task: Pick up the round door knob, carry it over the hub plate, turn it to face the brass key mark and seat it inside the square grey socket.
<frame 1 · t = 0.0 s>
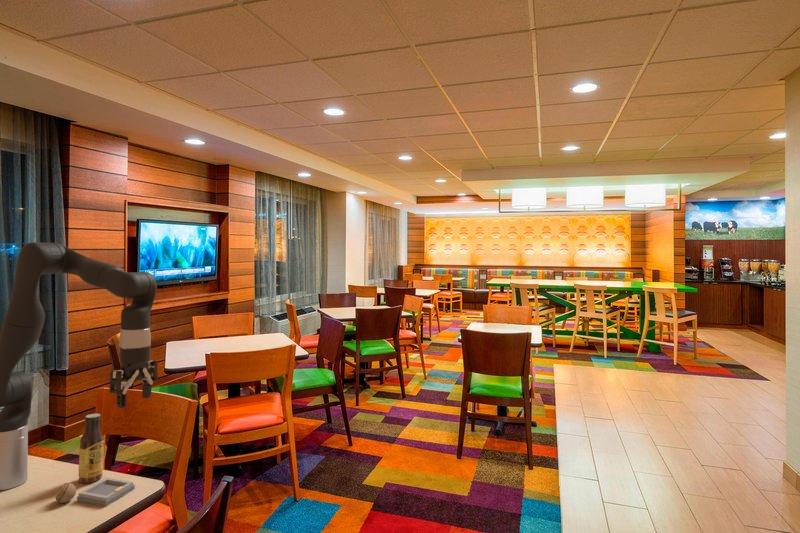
hand: (134, 402, 128), 29 cm above the table, fingers open, 8 cm apart
hub plate: (106, 494, 134), on the table
sauce bottle: (91, 479, 143), on the table
door knob: (65, 502, 130), on the table
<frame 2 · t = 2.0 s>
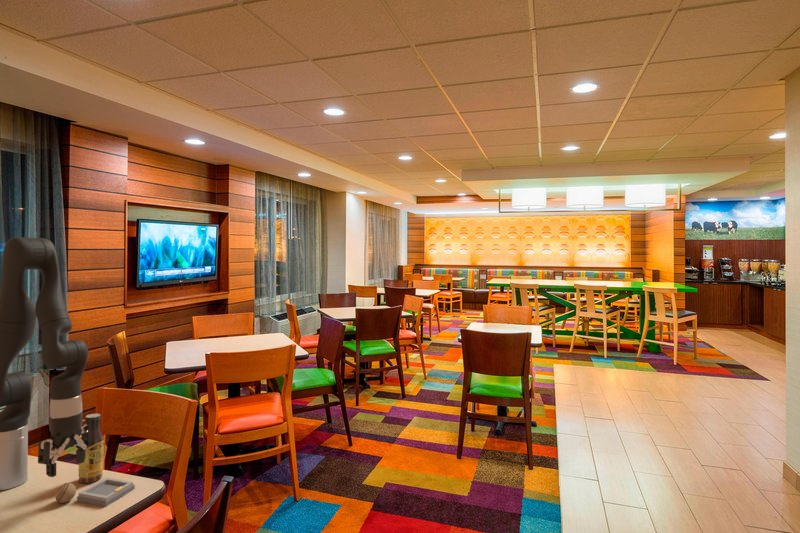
hand: (66, 469, 130), 9 cm above the table, fingers open, 8 cm apart
nothing on the table moved.
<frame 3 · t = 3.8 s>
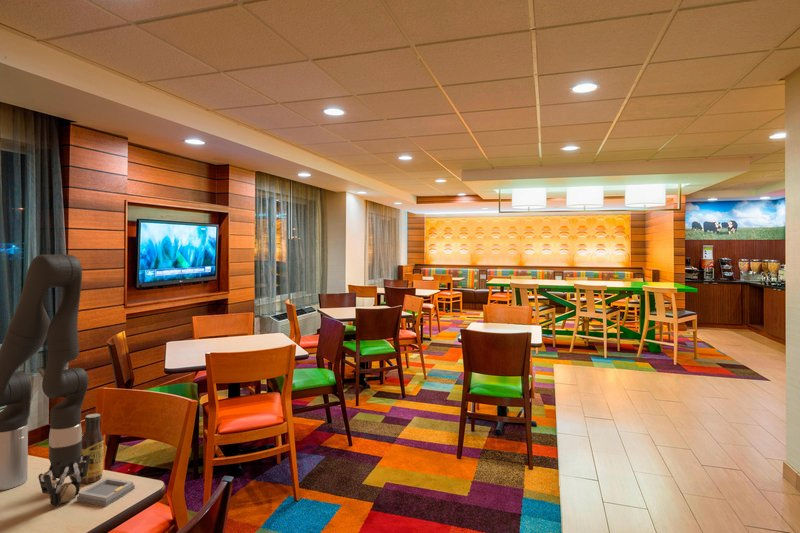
hand: (65, 499, 130), 0 cm above the table, fingers closed on door knob, 5 cm apart
door knob: (65, 501, 130), on the table, touching gripper
everything else where it was.
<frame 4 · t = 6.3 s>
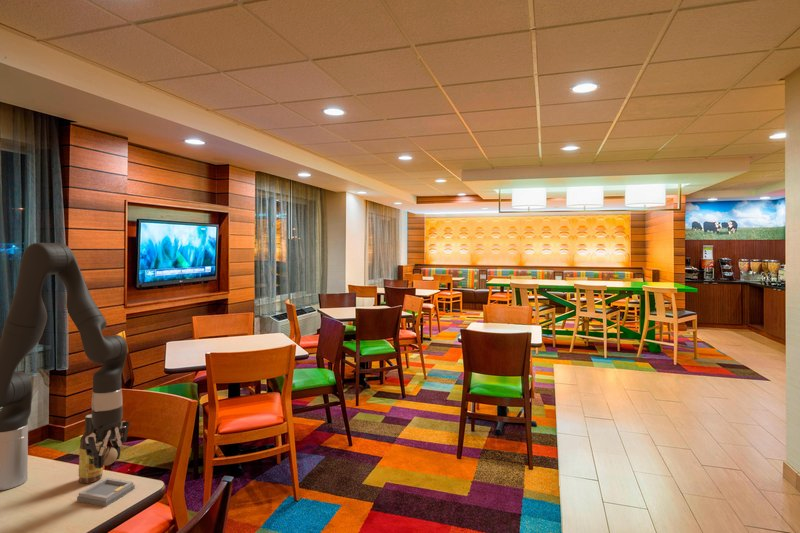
hand: (107, 463, 134), 9 cm above the table, fingers closed on door knob, 5 cm apart
door knob: (107, 465, 134), point 9 cm above the table, touching gripper
everything else where it was.
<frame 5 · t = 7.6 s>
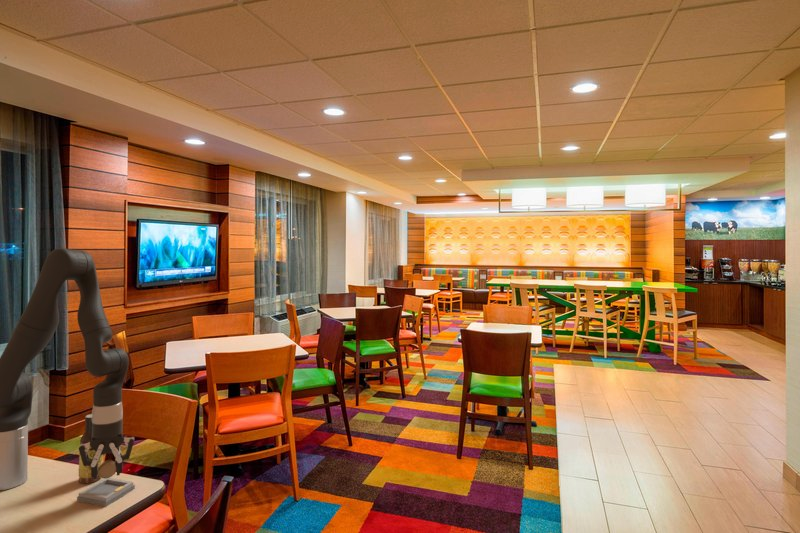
hand: (107, 475, 134), 6 cm above the table, fingers closed on door knob, 5 cm apart
door knob: (107, 478, 134), point 5 cm above the table, touching gripper
everything else where it was.
when the fingers open (3 cm above the table, at t = 8.8 s): door knob drops 1 cm, resting on hub plate.
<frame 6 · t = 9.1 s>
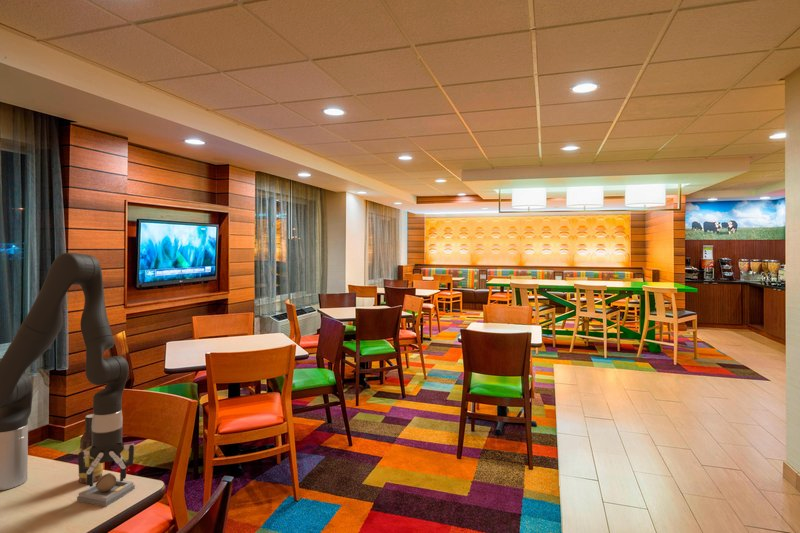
hand: (106, 482, 134), 4 cm above the table, fingers open, 7 cm apart
door knob: (106, 491, 134), point 1 cm above the table, touching hub plate
everything else where it was.
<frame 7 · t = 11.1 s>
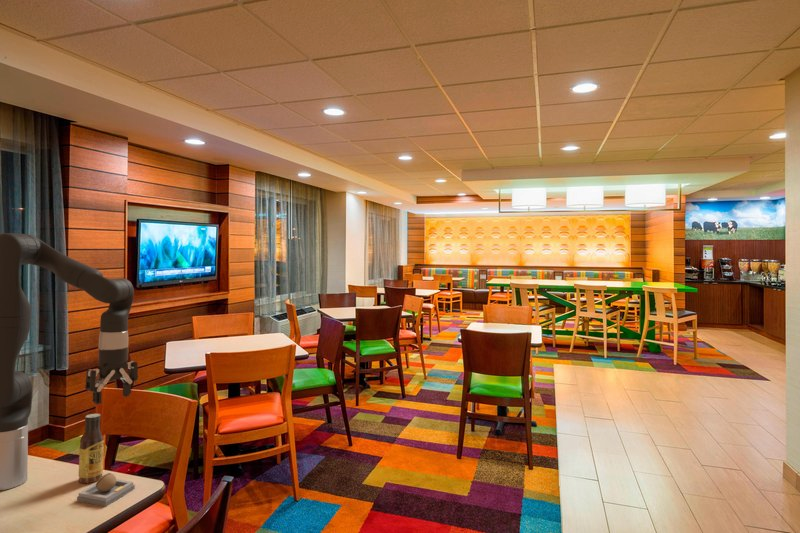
hand: (112, 399, 137), 27 cm above the table, fingers open, 8 cm apart
nothing on the table moved.
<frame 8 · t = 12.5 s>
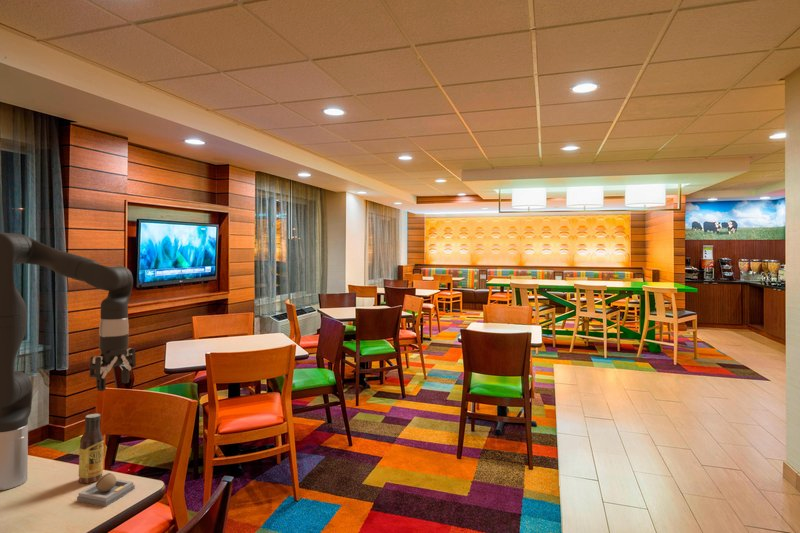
hand: (113, 386, 139), 30 cm above the table, fingers open, 8 cm apart
nothing on the table moved.
at the end: door knob 0.1 cm off-centre on the hub plate, point 1.0 cm above the hub plate's base; door knob touching hub plate; the gripper is holding nothing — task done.
